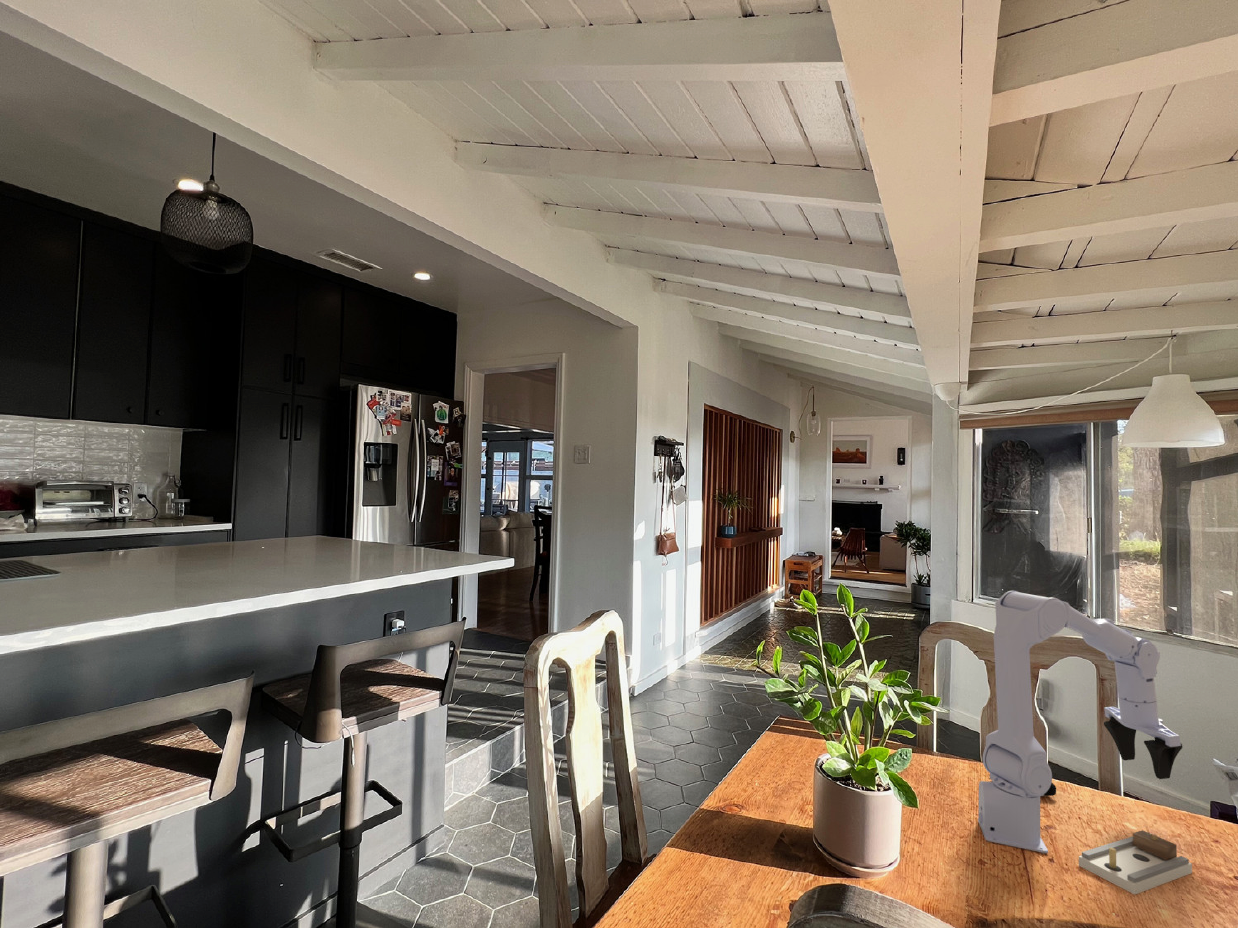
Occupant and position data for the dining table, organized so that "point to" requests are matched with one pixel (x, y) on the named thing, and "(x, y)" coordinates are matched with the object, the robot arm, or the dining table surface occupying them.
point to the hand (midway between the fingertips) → (1145, 768)
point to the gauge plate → (1132, 866)
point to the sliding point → (1155, 845)
